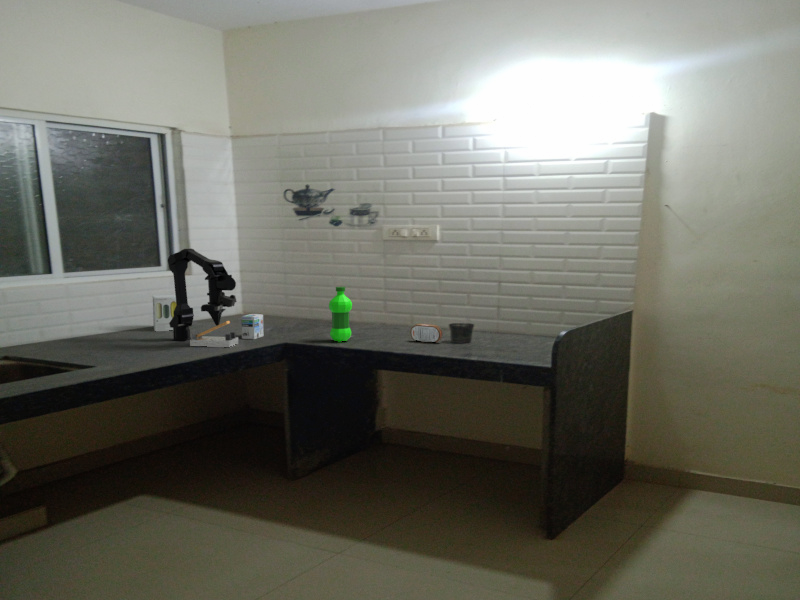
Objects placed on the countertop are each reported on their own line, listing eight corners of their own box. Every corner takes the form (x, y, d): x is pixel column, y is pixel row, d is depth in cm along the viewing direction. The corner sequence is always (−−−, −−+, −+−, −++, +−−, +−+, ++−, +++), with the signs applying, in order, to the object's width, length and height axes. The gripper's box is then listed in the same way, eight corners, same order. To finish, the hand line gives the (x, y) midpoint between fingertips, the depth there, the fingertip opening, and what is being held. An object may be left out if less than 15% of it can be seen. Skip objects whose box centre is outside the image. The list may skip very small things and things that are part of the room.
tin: (442, 343, 287) (442, 324, 286) (440, 344, 284) (440, 325, 284) (412, 340, 294) (412, 322, 293) (409, 341, 291) (409, 323, 290)
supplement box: (154, 331, 319) (153, 297, 317) (153, 328, 331) (152, 295, 329) (182, 330, 324) (181, 296, 322) (180, 326, 336) (179, 294, 334)
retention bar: (196, 338, 279) (194, 335, 279) (199, 336, 283) (198, 334, 283) (227, 323, 277) (226, 321, 277) (230, 322, 280) (229, 320, 280)
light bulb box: (254, 339, 296) (254, 316, 295) (241, 339, 297) (240, 316, 296) (264, 336, 306) (263, 313, 305) (251, 335, 308) (250, 313, 307)
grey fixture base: (190, 346, 277) (189, 334, 276) (200, 342, 286) (199, 330, 286) (229, 347, 274) (229, 335, 274) (238, 343, 284) (238, 331, 284)
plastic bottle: (356, 341, 292) (356, 287, 289) (339, 344, 284) (339, 288, 281) (341, 338, 298) (341, 285, 296) (324, 341, 291) (324, 287, 288)
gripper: (224, 291, 267) (226, 328, 269) (241, 288, 286) (242, 322, 287) (199, 292, 269) (201, 328, 270) (217, 288, 287) (219, 322, 289)
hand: (217, 325), depth 279 cm, fingers closed, pressing on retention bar
